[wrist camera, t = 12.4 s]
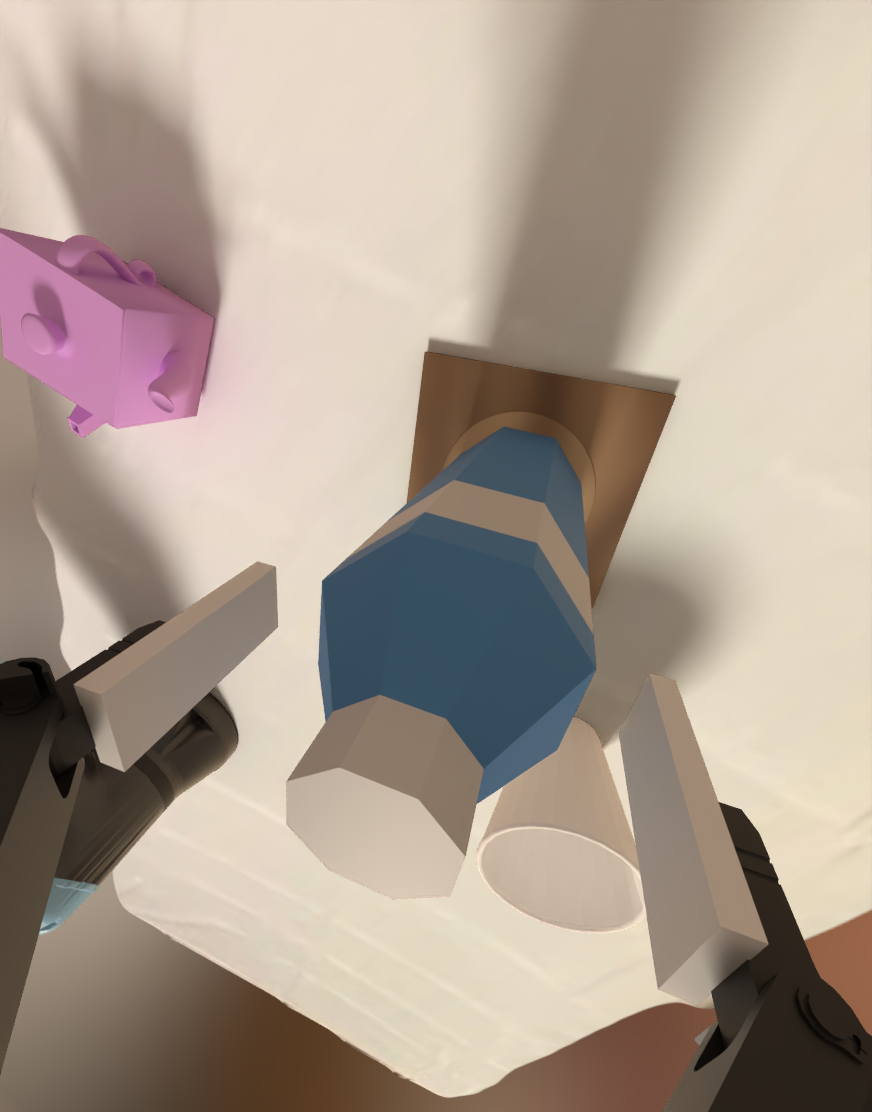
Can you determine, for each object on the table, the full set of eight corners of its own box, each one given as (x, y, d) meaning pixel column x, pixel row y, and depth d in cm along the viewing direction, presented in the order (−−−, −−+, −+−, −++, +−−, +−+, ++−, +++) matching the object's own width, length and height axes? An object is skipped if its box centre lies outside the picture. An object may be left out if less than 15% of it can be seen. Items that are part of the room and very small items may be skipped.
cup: (481, 701, 40) (449, 825, 30) (608, 682, 36) (624, 824, 25) (524, 787, 44) (509, 926, 33) (645, 781, 39) (673, 943, 28)
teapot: (74, 367, 37) (-71, 370, 29) (77, 195, 31) (-110, 135, 22) (242, 473, 37) (145, 508, 29) (282, 323, 30) (171, 312, 22)
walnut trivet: (402, 555, 36) (399, 559, 35) (427, 351, 28) (424, 351, 28) (590, 607, 33) (591, 611, 32) (673, 394, 26) (676, 396, 25)
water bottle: (499, 396, 28) (249, 547, 6) (611, 479, 28) (750, 907, 6) (428, 502, 32) (144, 799, 11) (524, 573, 33) (434, 1001, 11)
